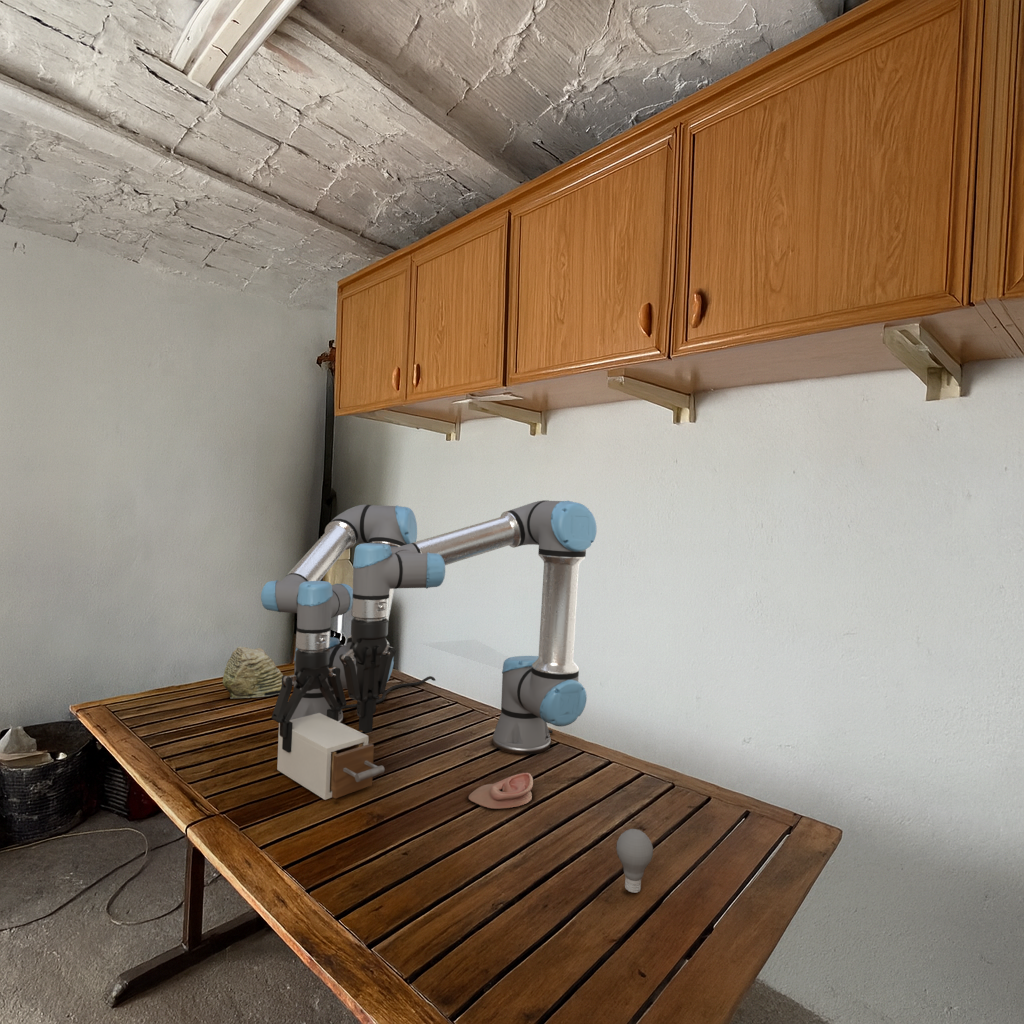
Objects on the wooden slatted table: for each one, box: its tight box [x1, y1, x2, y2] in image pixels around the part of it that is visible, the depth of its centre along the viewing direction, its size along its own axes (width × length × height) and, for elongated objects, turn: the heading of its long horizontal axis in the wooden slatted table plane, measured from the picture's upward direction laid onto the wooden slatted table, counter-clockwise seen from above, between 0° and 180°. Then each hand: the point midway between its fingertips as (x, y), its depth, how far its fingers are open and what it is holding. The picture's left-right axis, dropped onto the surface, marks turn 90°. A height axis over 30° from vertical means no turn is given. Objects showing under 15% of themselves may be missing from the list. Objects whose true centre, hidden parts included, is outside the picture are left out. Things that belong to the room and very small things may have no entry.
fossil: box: [222, 646, 284, 699], centre depth 198 cm, size 9×18×15 cm, turn 132°
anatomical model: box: [468, 772, 534, 810], centre depth 137 cm, size 13×4×12 cm
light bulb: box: [615, 828, 654, 894], centre depth 106 cm, size 6×6×10 cm
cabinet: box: [276, 713, 370, 801], centre depth 143 cm, size 20×10×11 cm, turn 49°
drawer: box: [330, 743, 386, 800], centre depth 139 cm, size 25×9×9 cm, turn 48°
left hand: (309, 743), depth 146 cm, fingers closed on cabinet, 10 cm apart
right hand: (365, 730), depth 132 cm, fingers closed
